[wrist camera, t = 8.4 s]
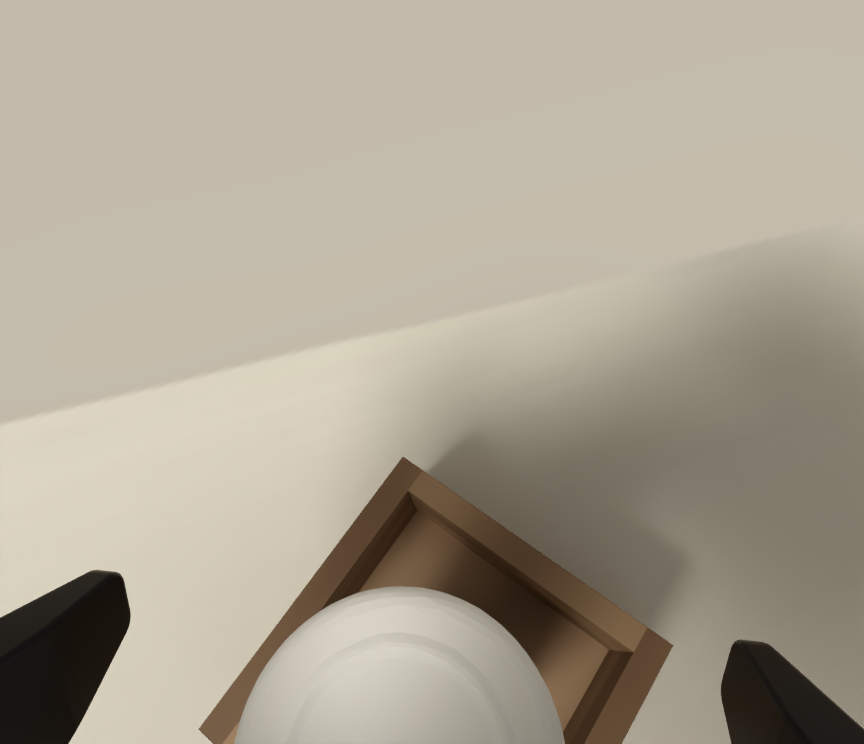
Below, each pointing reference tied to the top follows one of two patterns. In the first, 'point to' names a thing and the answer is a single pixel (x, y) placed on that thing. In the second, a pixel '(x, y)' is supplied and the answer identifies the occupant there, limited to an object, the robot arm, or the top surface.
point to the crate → (479, 605)
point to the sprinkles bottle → (400, 678)
